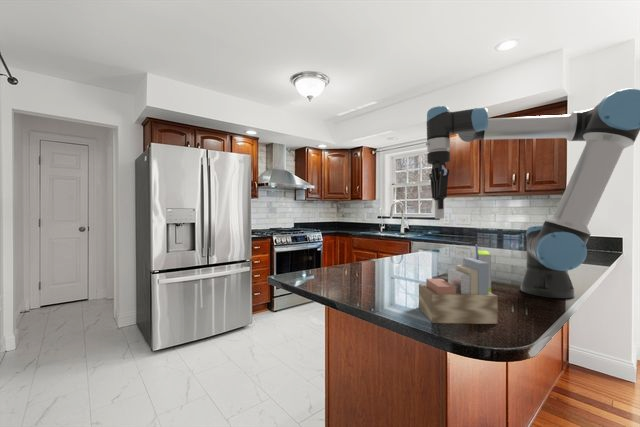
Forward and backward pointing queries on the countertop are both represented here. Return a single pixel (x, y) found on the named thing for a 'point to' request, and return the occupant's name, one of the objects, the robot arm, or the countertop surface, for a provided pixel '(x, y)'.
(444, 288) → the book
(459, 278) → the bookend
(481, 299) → the wooden crate
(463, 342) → the countertop surface
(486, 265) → the shelved books
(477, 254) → the box
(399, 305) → the countertop surface
